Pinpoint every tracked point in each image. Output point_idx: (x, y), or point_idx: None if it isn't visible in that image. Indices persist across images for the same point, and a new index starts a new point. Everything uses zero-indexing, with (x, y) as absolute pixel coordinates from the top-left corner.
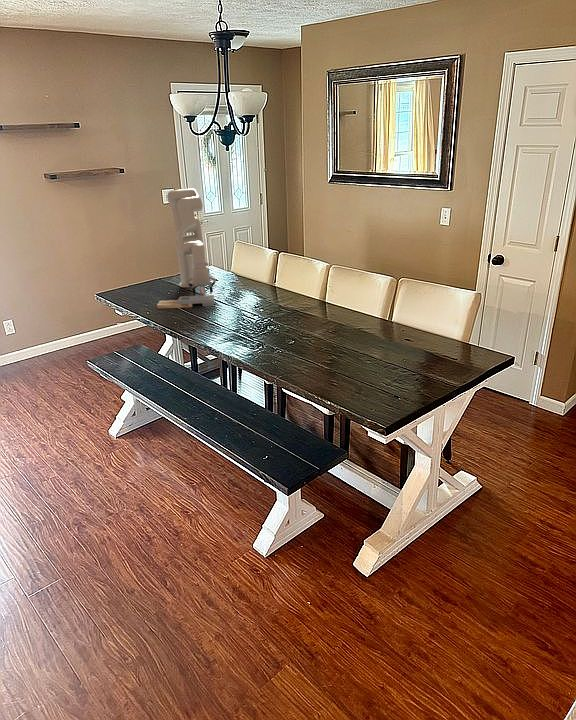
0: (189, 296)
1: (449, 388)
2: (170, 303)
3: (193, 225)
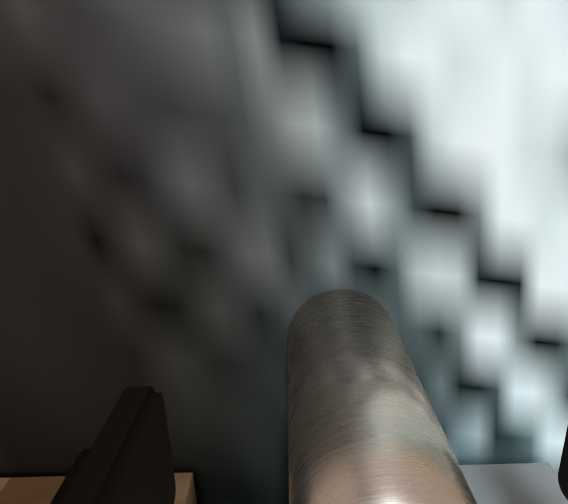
0: None
1: None
2: None
3: None
